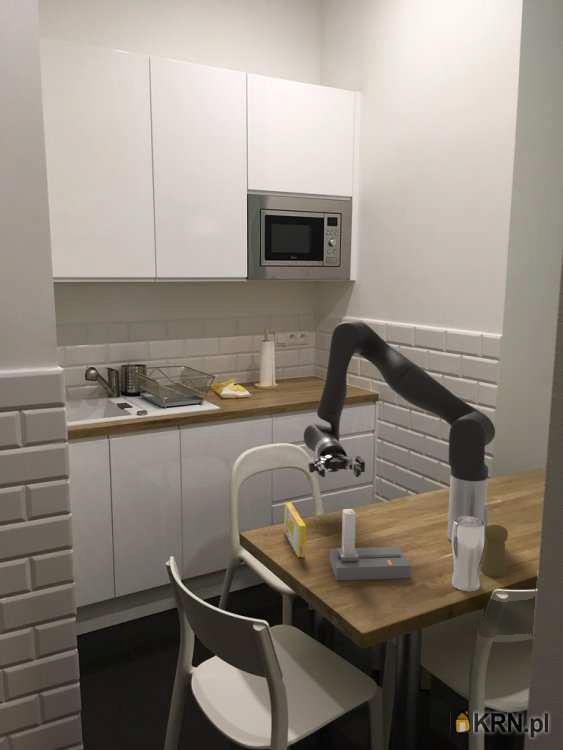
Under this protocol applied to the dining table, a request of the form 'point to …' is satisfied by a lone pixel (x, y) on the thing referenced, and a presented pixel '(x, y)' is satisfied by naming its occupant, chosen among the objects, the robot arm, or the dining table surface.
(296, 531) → the candy box
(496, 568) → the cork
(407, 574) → the fader console
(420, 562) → the dining table surface
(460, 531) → the beer glass
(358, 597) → the dining table surface
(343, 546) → the slider tab
